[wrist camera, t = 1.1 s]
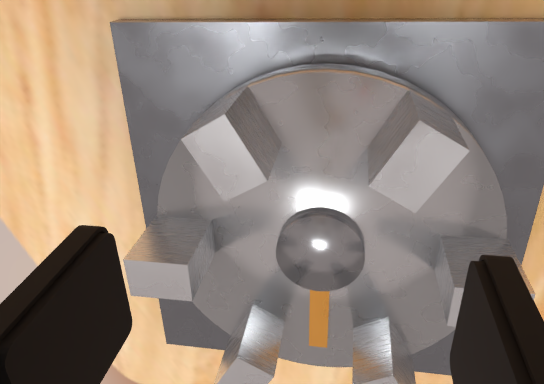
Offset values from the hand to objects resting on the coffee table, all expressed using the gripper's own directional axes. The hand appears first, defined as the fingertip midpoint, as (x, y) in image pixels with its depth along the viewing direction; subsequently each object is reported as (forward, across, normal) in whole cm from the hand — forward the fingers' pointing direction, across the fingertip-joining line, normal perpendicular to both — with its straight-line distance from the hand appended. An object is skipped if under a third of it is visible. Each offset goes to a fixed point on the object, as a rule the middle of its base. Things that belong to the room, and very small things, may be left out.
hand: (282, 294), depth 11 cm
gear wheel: (+17, 0, +8) cm, 19 cm away
